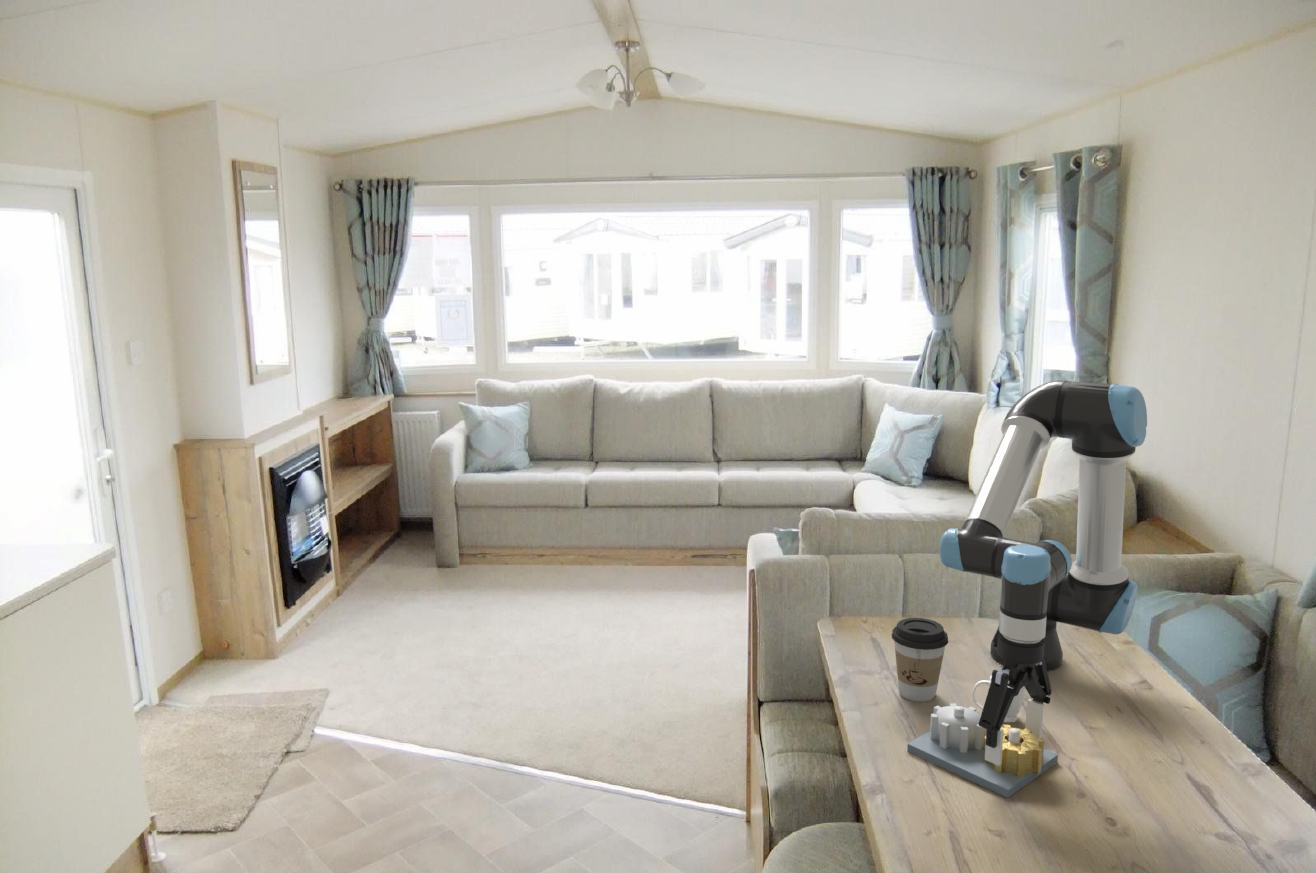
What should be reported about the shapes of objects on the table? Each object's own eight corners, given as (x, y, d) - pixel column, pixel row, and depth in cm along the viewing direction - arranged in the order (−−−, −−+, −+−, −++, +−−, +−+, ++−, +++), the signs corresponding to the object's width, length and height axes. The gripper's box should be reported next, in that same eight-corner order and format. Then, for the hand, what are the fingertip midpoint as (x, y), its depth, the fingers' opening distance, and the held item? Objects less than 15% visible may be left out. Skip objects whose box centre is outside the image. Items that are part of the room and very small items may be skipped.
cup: (1026, 728, 180) (1028, 689, 178) (971, 720, 183) (973, 682, 181) (1024, 710, 187) (1026, 673, 185) (971, 704, 190) (973, 667, 188)
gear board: (958, 720, 183) (960, 685, 182) (1057, 761, 168) (1060, 723, 167) (907, 750, 172) (908, 713, 171) (1007, 797, 157) (1010, 757, 156)
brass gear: (1001, 741, 172) (1003, 719, 171) (1053, 763, 165) (1055, 739, 164) (972, 760, 166) (973, 737, 165) (1024, 784, 159) (1026, 759, 158)
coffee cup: (885, 701, 191) (887, 632, 188) (893, 677, 202) (895, 612, 199) (942, 710, 187) (946, 640, 184) (948, 686, 197) (951, 619, 194)
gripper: (1037, 610, 171) (1029, 717, 176) (961, 648, 156) (955, 764, 160) (1077, 622, 166) (1068, 732, 170) (1003, 663, 150) (995, 783, 154)
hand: (1013, 748), depth 165 cm, fingers open, 13 cm apart
